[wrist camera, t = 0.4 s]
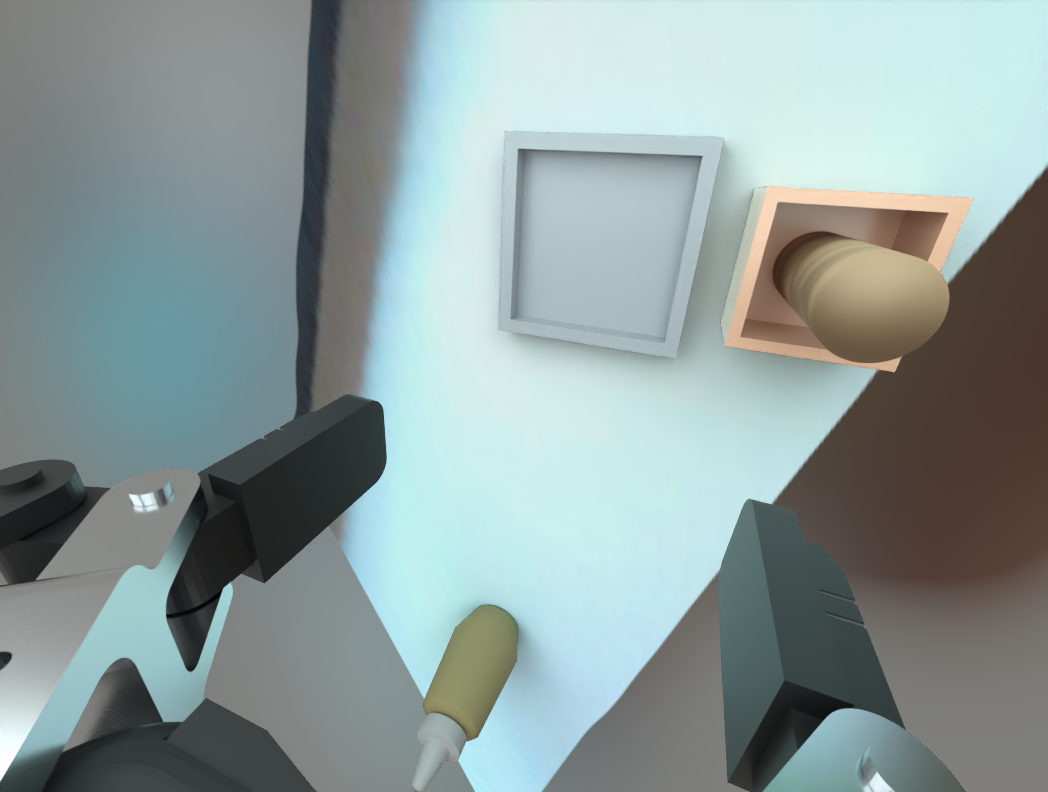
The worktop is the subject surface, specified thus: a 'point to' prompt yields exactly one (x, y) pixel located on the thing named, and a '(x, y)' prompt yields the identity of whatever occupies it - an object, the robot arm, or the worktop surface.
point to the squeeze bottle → (465, 688)
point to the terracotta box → (791, 212)
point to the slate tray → (603, 235)
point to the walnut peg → (861, 295)
